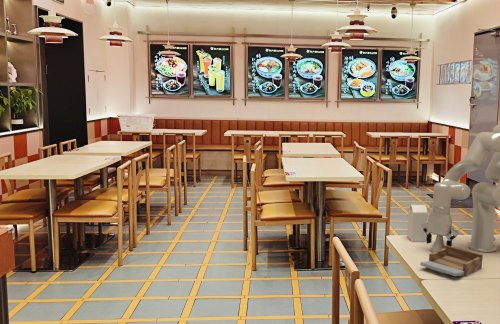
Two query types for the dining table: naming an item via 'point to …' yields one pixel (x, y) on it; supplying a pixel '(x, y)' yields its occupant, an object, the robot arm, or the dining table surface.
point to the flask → (438, 244)
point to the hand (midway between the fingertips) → (438, 245)
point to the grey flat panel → (442, 268)
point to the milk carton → (417, 221)
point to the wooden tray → (457, 259)
